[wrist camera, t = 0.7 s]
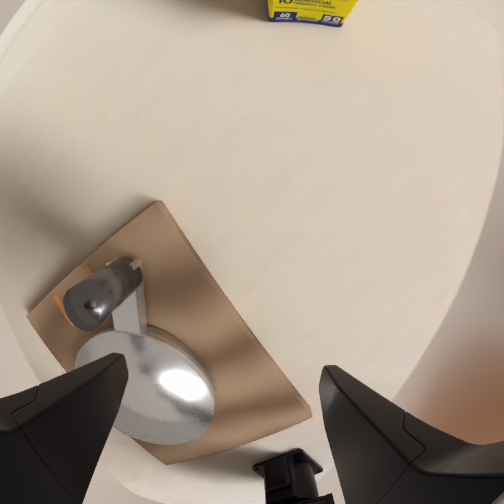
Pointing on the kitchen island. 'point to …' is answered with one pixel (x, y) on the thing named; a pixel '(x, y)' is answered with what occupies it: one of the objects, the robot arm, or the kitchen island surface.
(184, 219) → the kitchen island surface
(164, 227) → the walnut board
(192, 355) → the silver disc with handle
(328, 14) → the supplement box
